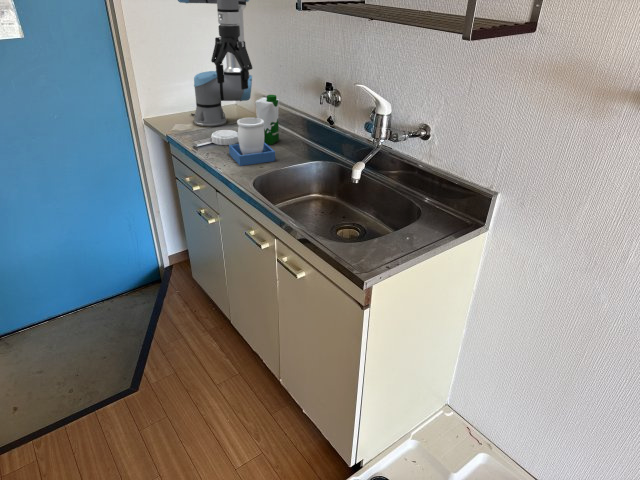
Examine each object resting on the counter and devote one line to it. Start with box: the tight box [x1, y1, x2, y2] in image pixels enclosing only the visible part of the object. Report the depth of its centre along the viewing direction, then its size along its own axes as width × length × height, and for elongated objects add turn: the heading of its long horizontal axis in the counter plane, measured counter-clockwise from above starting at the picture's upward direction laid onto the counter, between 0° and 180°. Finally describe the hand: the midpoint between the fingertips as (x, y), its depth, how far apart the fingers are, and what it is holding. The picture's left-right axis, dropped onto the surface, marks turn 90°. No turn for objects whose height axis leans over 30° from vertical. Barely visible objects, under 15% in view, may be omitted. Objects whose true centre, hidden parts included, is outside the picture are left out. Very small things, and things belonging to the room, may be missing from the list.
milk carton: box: [254, 94, 280, 146], centre depth 203 cm, size 9×9×20 cm
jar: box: [236, 117, 264, 155], centre depth 186 cm, size 11×10×15 cm
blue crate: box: [228, 142, 276, 167], centre depth 189 cm, size 14×15×4 cm
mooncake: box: [210, 129, 239, 146], centre depth 205 cm, size 12×12×4 cm
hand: (232, 85), depth 179 cm, fingers open, 13 cm apart
